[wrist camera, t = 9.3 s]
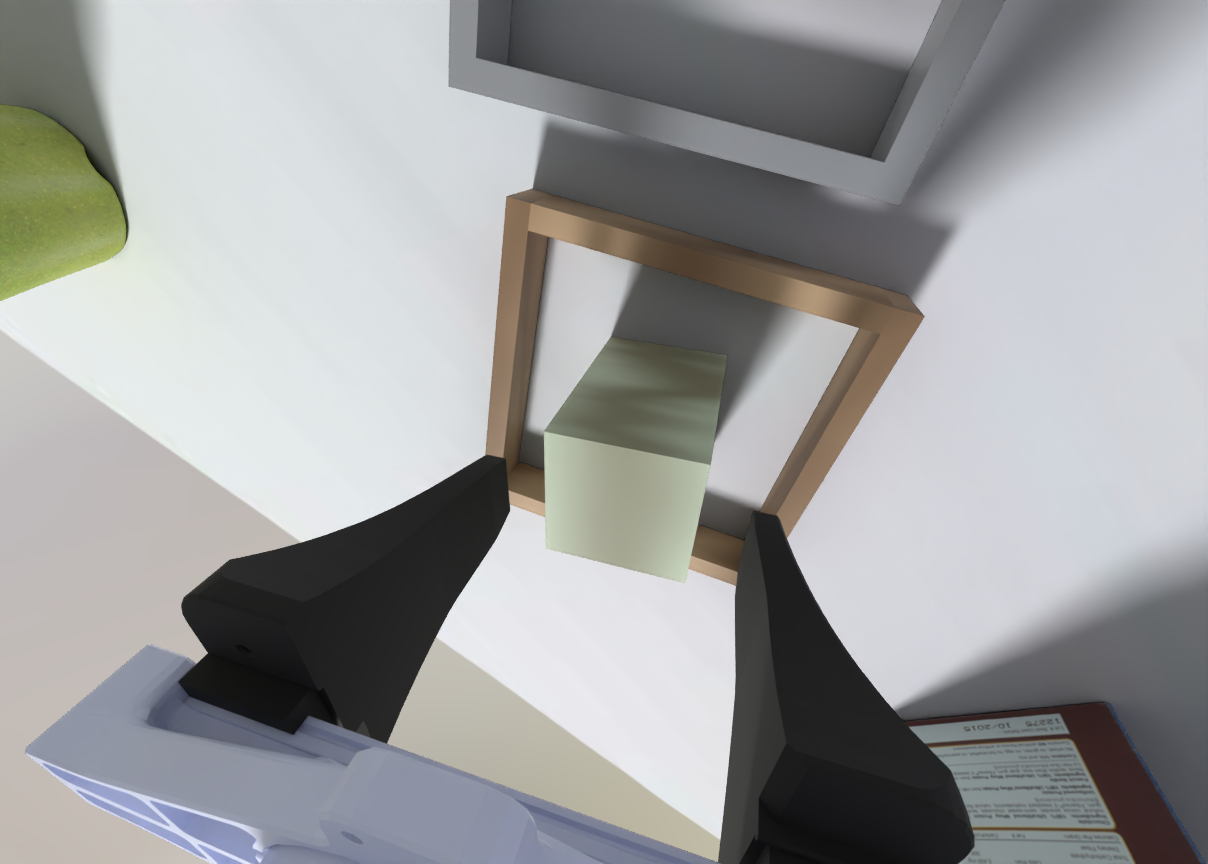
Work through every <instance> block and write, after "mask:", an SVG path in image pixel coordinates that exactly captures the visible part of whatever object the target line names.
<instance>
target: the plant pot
mask: <svg viewBox="0 0 1208 864" xmlns="http://www.w3.org/2000/svg"><path fill="white" fill-rule="evenodd" d="M125 240H126V224H125V219H124V215H123V211H122V208H121V205H120V202H119V200H118V197H117V195H116V193H115V191H114V189H113V187H112V185H111V184H110V183H109V182H108V181H106V180H105V179H104V178H103V177H102V176H101V175H100V174H99V173H98V172H97V171H96V170H95V169H94V167H93V166H92V165H91V163H90V162H89V160H88V158H87V156H86V153H85V149H84V146H83V145H82V144H81V143H80V142H79V141H78V140H77V139H76V138H75V137H74V136H73V135H72V134H71V133H70V132H68V131H67V130H66V129H65V128H64V127H62V126H61V125H60V124H58V123H57V122H55V121H54V120H52V119H51V118H49V117H47V116H45V115H44V114H42V113H39V112H37V111H35V110H32V109H28V108H24V107H19V106H11V105H3V104H0V301H2V300H4V299H7V298H9V297H12V296H14V295H17V294H19V293H22V292H24V291H27V290H29V289H32V288H34V287H37V286H40V285H42V284H45V283H47V282H50V281H53V280H55V279H58V278H61V277H63V276H66V275H69V274H72V273H74V272H77V271H80V270H83V269H85V268H88V267H91V266H94V265H96V264H99V263H102V262H104V261H107V260H109V259H110V258H112V257H113V256H115V255H116V254H117V253H119V252H120V251H121V250H122V249H123V247H124V244H125Z"/></svg>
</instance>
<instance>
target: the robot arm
mask: <svg viewBox="0 0 1208 864" xmlns="http://www.w3.org/2000/svg"><path fill="white" fill-rule="evenodd" d="M509 512H510V502H509V490H508V478H507V466H506V458H501V457H496V456H492V455H486V456H484V457H482V458H480V459H478V460H477V461H475V462H473V463H472V464H470V465H468V466H467V467H465V468H463V469H462V470H460V471H458V472H457V473H455V474H454V475H452V476H450V477H448V478H447V479H445V480H443V481H442V482H440V483H438V484H437V485H435V486H433V487H431V488H430V489H428V490H426V491H424V492H422V493H420V494H419V495H417V496H415V497H413V498H411V499H409V500H407V501H405V502H404V503H402V504H400V505H398V506H396V507H394V508H392V509H390V510H387V511H385V512H383V513H381V514H379V515H376V516H374V517H372V518H369V519H367V520H365V521H362V522H360V523H357V524H355V525H352V526H349V527H346V528H344V529H341V530H338V531H335V532H333V533H330V534H327V535H324V536H321V537H318V538H315V539H312V540H308V541H305V542H302V543H298V544H295V545H291V546H288V547H284V548H280V549H276V550H272V551H268V552H263V553H259V554H254V555H250V556H245V557H241V558H236V559H231V560H229V561H228V562H226V563H225V564H224V565H223V566H221V567H220V568H219V569H218V570H217V571H215V572H214V573H213V574H212V575H211V576H209V577H208V578H207V579H206V580H205V581H203V582H202V583H201V584H200V585H199V586H197V587H196V588H195V589H194V590H192V591H191V592H190V593H189V594H187V595H186V596H185V597H184V598H183V601H182V606H181V607H182V613H183V616H184V617H185V619H186V621H187V623H188V624H189V626H190V627H191V628H192V630H193V632H194V633H195V635H196V636H197V637H198V639H199V640H200V642H201V643H202V645H203V646H204V648H205V649H206V651H207V652H208V654H207V655H206V656H205V657H204V658H203V659H201V660H200V661H199V662H198V663H197V664H196V663H195V662H194V661H192V660H191V659H189V658H187V657H185V656H183V655H181V654H178V653H175V652H172V651H169V650H167V649H164V648H161V647H158V646H155V645H152V644H151V645H146V646H145V647H144V648H143V649H142V650H140V651H139V652H138V653H137V654H136V655H135V656H133V657H132V658H131V659H130V660H129V661H128V662H126V663H125V664H124V665H123V666H122V667H120V668H119V669H118V670H117V671H116V672H114V674H112V675H111V676H110V677H109V678H107V679H106V680H105V681H104V682H103V683H102V684H101V685H99V686H98V687H97V688H96V689H94V690H93V691H92V692H91V693H90V694H89V695H87V696H86V697H85V698H84V699H83V700H81V701H80V702H79V703H78V704H77V705H76V706H74V707H73V708H72V709H71V710H70V711H69V712H67V713H66V714H65V715H64V716H63V717H62V718H60V719H59V720H58V721H57V722H56V723H54V724H53V725H52V726H51V727H50V728H48V729H47V730H46V731H45V732H44V733H43V734H41V735H40V736H39V737H38V738H37V739H36V740H34V741H33V742H32V743H31V744H30V745H28V746H27V747H26V750H25V754H27V755H28V756H29V757H31V758H32V759H33V760H34V761H36V762H37V763H38V764H39V765H41V766H42V767H43V768H45V769H46V770H47V771H49V772H50V773H51V774H52V775H54V776H55V777H56V778H57V779H59V780H60V781H61V782H62V783H64V784H65V785H66V786H68V787H69V788H70V789H72V790H73V791H74V792H75V793H77V794H78V795H79V796H80V797H82V798H83V799H84V800H85V801H87V802H88V803H90V804H91V805H93V806H96V807H98V808H100V809H102V810H105V811H106V812H109V813H111V814H113V815H115V816H117V817H120V818H122V819H124V820H126V821H128V822H130V823H132V824H134V825H136V826H138V827H140V828H142V829H144V830H146V831H148V832H150V833H152V834H154V835H156V836H158V837H161V838H162V839H164V840H166V841H168V842H170V843H172V844H174V845H176V846H178V847H180V848H182V849H184V850H186V851H188V852H190V853H192V854H194V855H195V856H198V857H199V858H201V859H203V860H205V861H207V862H209V863H211V864H959V863H960V862H961V861H962V860H964V859H965V858H966V857H967V856H968V855H969V853H970V852H971V851H972V849H973V848H974V847H975V836H974V833H973V829H972V826H971V822H970V819H969V816H968V812H967V809H966V807H965V804H964V801H963V799H962V796H961V794H960V791H959V789H958V786H957V784H956V781H955V779H954V777H953V774H952V771H951V770H950V769H949V768H948V767H947V766H946V765H945V764H944V763H943V762H942V761H941V760H940V759H939V758H938V757H937V756H936V755H935V754H934V753H933V752H932V750H931V749H930V748H929V747H928V746H927V745H926V744H925V743H924V742H923V741H922V740H921V739H920V738H919V737H918V736H917V735H916V734H915V733H914V732H913V731H912V730H911V729H910V728H909V727H908V726H907V725H906V724H905V722H904V721H903V720H902V719H901V718H900V717H899V716H898V714H897V713H896V712H895V711H894V710H893V709H892V708H891V707H890V705H889V704H888V703H887V702H886V701H885V700H884V698H883V697H882V696H881V695H880V693H879V692H878V691H877V689H876V688H875V687H874V686H873V684H872V683H871V682H870V681H869V679H868V678H867V677H866V676H865V674H864V673H863V672H862V671H861V669H860V668H859V667H858V665H857V664H856V663H855V661H854V660H853V658H852V657H851V655H850V654H849V653H848V651H847V650H846V648H845V647H844V646H843V644H842V643H841V641H840V639H839V638H838V636H837V635H836V633H835V632H834V630H833V629H832V627H831V626H830V624H829V622H828V621H827V619H826V617H825V616H824V614H823V612H822V611H821V609H820V607H819V605H818V603H817V602H816V600H815V598H814V596H813V594H812V592H811V590H810V589H809V587H808V585H807V583H806V581H805V579H804V576H803V574H802V572H801V570H800V568H799V566H798V564H797V562H796V560H795V557H794V555H793V553H792V550H791V548H790V545H789V543H788V540H787V538H786V535H785V532H784V530H783V527H782V524H781V520H780V519H779V517H778V516H777V515H772V514H767V513H762V512H758V511H753V514H752V518H751V522H750V525H749V529H748V532H747V536H746V539H745V543H744V546H743V550H742V553H741V557H740V560H739V565H738V574H737V583H736V593H735V656H736V683H735V701H734V713H733V725H732V736H731V746H730V757H729V767H728V777H727V786H726V796H725V805H724V815H723V824H722V833H721V842H720V850H719V859H718V862H715V861H713V860H710V859H707V858H704V857H702V856H699V855H696V854H693V853H690V852H688V851H685V850H682V849H679V848H676V847H674V846H671V845H668V844H665V843H662V842H659V841H657V840H654V839H651V838H648V837H645V836H643V835H640V834H637V833H635V832H632V831H629V830H626V829H623V828H621V827H617V826H615V825H612V824H609V823H607V822H604V821H601V820H598V819H595V818H593V817H590V816H587V815H584V814H581V813H579V812H576V811H573V810H570V809H568V808H565V807H562V806H559V805H556V804H553V803H551V802H548V801H545V800H542V799H540V798H537V797H534V796H531V795H528V794H526V793H523V792H520V791H517V790H514V789H511V788H509V787H506V786H503V785H501V784H498V783H495V782H492V781H489V780H487V779H484V778H481V777H478V776H475V775H473V774H469V773H467V772H464V771H461V770H458V769H456V768H453V767H450V766H447V765H445V764H442V763H439V762H436V761H433V760H431V759H428V758H425V757H422V756H419V755H417V754H414V753H411V752H408V751H406V750H403V749H400V748H397V747H394V746H391V745H389V744H387V742H388V740H389V737H390V735H391V732H392V730H393V728H394V725H395V723H396V721H397V718H398V716H399V714H400V711H401V709H402V707H403V705H404V702H405V700H406V698H407V696H408V694H409V691H410V689H411V687H412V685H413V683H414V680H415V678H416V676H417V674H418V672H419V670H420V668H421V665H422V664H423V662H424V660H425V658H426V655H427V654H428V651H429V649H430V648H431V645H432V643H433V641H434V639H435V638H436V636H437V634H438V632H439V630H440V628H441V626H442V624H443V622H444V620H445V618H446V617H447V615H448V613H449V611H450V609H451V608H452V606H453V604H454V603H455V601H456V599H457V598H458V596H459V595H460V593H461V592H462V590H463V589H464V587H465V586H466V584H467V583H468V581H469V580H470V578H471V577H472V575H473V574H474V572H475V571H476V569H477V568H478V566H479V565H480V563H481V562H482V560H483V559H484V557H485V556H486V554H487V553H488V551H489V550H490V548H491V546H492V545H493V543H494V542H495V540H496V539H497V537H498V535H499V533H500V531H501V529H502V527H503V525H504V522H505V520H506V518H507V516H508V514H509Z"/></svg>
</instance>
